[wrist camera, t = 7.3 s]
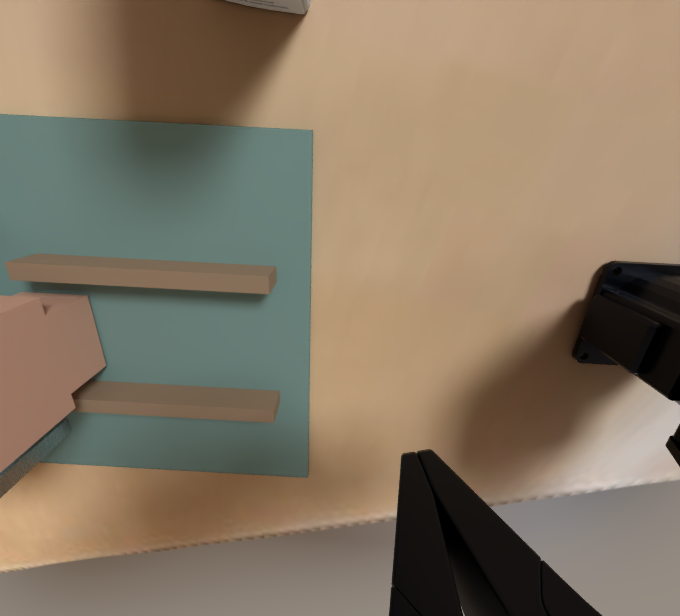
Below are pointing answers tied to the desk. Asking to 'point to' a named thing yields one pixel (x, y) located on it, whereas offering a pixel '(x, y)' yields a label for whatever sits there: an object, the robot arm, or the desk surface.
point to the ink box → (278, 5)
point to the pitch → (171, 284)
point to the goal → (33, 455)
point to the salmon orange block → (42, 364)
